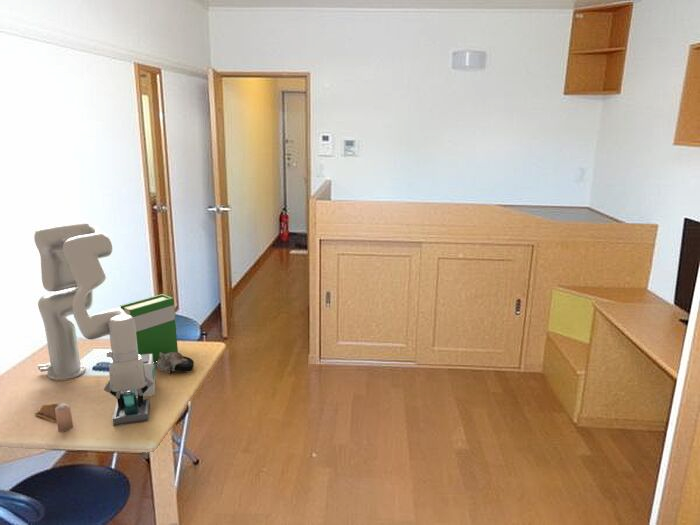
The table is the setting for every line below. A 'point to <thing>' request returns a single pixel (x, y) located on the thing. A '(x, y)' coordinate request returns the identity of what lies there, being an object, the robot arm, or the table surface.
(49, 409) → the shard
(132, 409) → the cylinder
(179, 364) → the caster wheel
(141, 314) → the hardback book
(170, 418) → the table surface
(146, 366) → the unit
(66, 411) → the terracotta cartridge
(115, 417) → the tray
